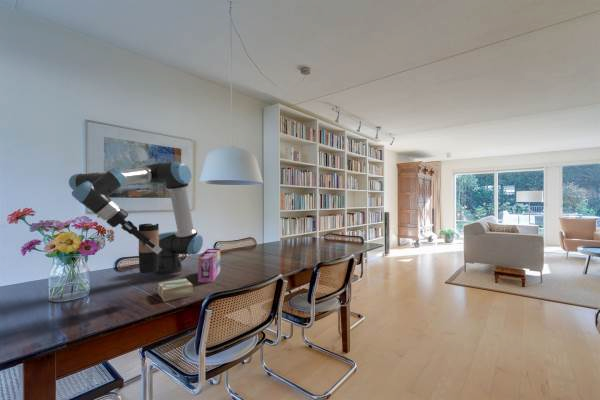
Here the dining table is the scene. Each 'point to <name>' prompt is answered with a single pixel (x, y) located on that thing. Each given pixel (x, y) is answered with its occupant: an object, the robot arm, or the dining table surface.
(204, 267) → the gum box
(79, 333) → the dining table surface
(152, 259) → the travel mug
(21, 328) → the dining table surface
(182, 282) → the pedestal
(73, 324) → the dining table surface
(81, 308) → the dining table surface
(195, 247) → the robot arm
